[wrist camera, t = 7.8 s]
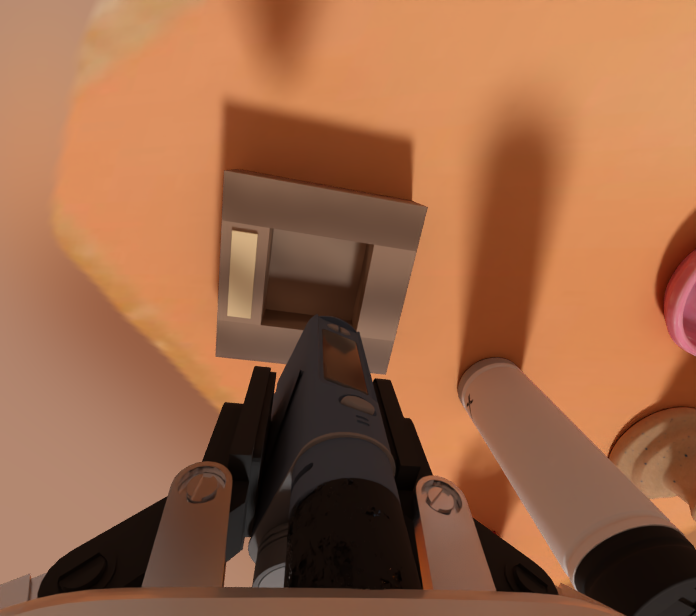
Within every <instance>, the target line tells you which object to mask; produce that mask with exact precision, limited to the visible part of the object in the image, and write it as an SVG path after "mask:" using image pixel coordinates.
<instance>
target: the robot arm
mask: <svg viewBox="0 0 696 616" xmlns="http://www.w3.org/2000/svg"><path fill="white" fill-rule="evenodd" d="M270 371H271V368H269V367H260V366H255V367H254V370H253V373H252V377H251V380H250V384H249V387H248V391H247V394H246V397H245V401H244V404H239V403H227V402H225V403H224V405H223V407H222V410H221V412H220V415H219V418H218V420H217V423H216V426H215V428H214V431H213V434H212V437H211V439H210V442H209V444H208V447H207V450H206V452H205V455H204V458H203V461H202V462H198V463H195V464H192V465H190V466H188V467H186V468H184V469H183V470H181V471H180V472H179V473H178V474H177V475H176V477H175V478H174V480H173V482H172V484H171V487H170V490H169V494H168V496H167V497H165V498H163V499H162V500H160V501H158V502H156V503H155V504H153V505H151V506H149V507H148V508H146V509H144V510H142V511H141V512H139V513H137V514H135V515H134V516H132V517H130V518H128V519H127V520H125V521H123V522H121V523H120V524H118V525H116V526H114V527H112V528H111V529H109V530H107V531H105V532H104V533H102V534H100V535H98V536H97V537H95V538H93V539H91V540H90V541H88V542H86V543H84V544H82V545H81V546H79V547H77V548H76V549H74V550H72V551H71V552H69V553H68V554H66V555H65V556H63V557H62V558H60V559H59V560H58V561H57V562H56V563H55V564H54V565H53V566H52V567H51V568H50V569H49V570H48V572H47V573H45V574H42V575H40V576H37V577H35V578H32V579H31V575H30V574H28V575H25V576H22V577H20V578H17V579H15V580H12V581H9V582H7V583H4V584H1V585H0V616H626V615H624V614H622V613H620V612H618V611H616V610H614V609H612V608H610V607H608V606H606V605H604V604H602V603H600V602H598V601H596V600H594V599H592V598H590V597H588V596H586V595H584V594H582V593H580V592H578V591H576V590H574V589H572V588H570V587H568V586H566V585H564V584H562V583H560V585H559V587H557V586H555V585H554V583H553V581H552V580H551V578H550V577H549V576H548V575H547V573H546V572H545V571H544V570H543V569H542V568H541V567H539V566H538V565H537V564H536V563H535V562H533V561H532V560H531V559H529V558H528V557H526V556H525V555H524V554H522V553H521V552H520V551H518V550H517V549H515V548H514V547H513V546H511V545H510V544H508V543H507V542H506V541H504V540H503V539H502V538H500V537H499V536H497V535H496V534H495V533H493V532H492V531H490V530H489V529H488V528H486V527H485V526H483V525H482V524H481V523H479V522H478V521H477V520H475V519H474V518H472V515H471V512H470V509H469V506H468V503H467V500H466V498H465V496H464V494H463V492H462V491H461V490H460V489H459V488H458V487H457V486H456V485H455V484H454V483H452V482H451V481H449V480H447V479H445V478H443V477H439V476H433V474H432V472H431V469H430V467H429V464H428V461H427V459H426V456H425V453H424V451H423V448H422V445H421V443H420V440H419V437H418V435H417V432H416V429H415V427H414V424H413V422H412V420H411V419H410V418H404V417H403V414H402V411H401V408H400V406H399V403H398V400H397V397H396V394H395V391H394V388H393V386H392V383H391V381H390V380H386V379H376V378H375V379H374V381H373V386H374V390H375V394H376V398H377V401H378V405H379V409H380V413H381V417H382V421H383V424H384V428H385V432H386V436H387V440H388V444H389V447H390V451H391V455H392V457H393V459H394V462H395V476H394V479H395V483H396V487H397V491H398V495H399V499H400V503H401V509H402V511H403V513H402V514H403V518H404V519H405V525H406V526H405V527H407V531H408V535H409V539H410V543H411V547H412V552H413V555H414V557H413V559H415V563H416V567H417V571H418V575H419V579H420V583H421V587H422V590H416V589H386V590H385V589H384V590H370V589H366V590H362V589H351V588H350V589H348V588H264V587H249V588H248V587H224V580H225V570H226V562H227V561H229V560H230V559H231V558H232V557H234V556H235V555H236V554H237V553H239V552H240V550H242V549H243V544H244V538H245V537H251V535H252V532H253V526H254V520H255V514H256V508H257V502H258V496H259V490H260V485H261V482H260V481H261V475H262V469H263V463H264V457H265V451H266V445H267V440H268V434H269V428H270V422H271V413H272V405H273V397H274V388H275V380H276V372H270ZM396 565H397V564H396ZM393 577H394V576H393ZM400 577H401V576H400ZM396 580H397V579H396ZM401 580H402V578H401Z"/></svg>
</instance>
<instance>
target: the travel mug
mask: <svg viewBox="0 0 696 616" xmlns="http://www.w3.org/2000/svg"><path fill="white" fill-rule="evenodd" d="M458 396H459V399H460V401H461V403H462V405H463V406H464V408H465V409H466V411H467V413H468V414H469V416H470V418H471V419H472V421H473V423H474V424H475V426H476V427H477V429H478V431H479V432H480V434H481V436H482V437H483V439H484V441H485V442H486V444H487V445H488V447H489V449H490V450H491V452H492V454H493V455H494V457H495V459H496V460H497V462H498V463H499V465H500V467H501V468H502V470H503V472H504V473H505V475H506V477H507V478H508V480H509V481H510V483H511V485H512V486H513V488H514V490H515V491H516V493H517V495H518V496H519V498H520V500H521V501H522V503H523V504H524V506H525V508H526V509H527V511H528V513H529V514H530V516H531V518H532V519H533V521H534V522H535V524H536V526H537V527H538V529H539V531H540V532H541V534H542V536H543V537H544V539H545V540H546V542H547V544H548V545H549V547H550V549H551V550H552V552H553V554H554V555H555V557H556V558H557V560H558V562H559V563H560V565H561V567H562V568H563V570H564V572H565V573H566V574H567V575H568V577H569V578H570V581H571V583H572V585H573V586H574V588H575V589H576V591H578V592H580V593H582V594H584V595H586V596H588V597H590V598H592V599H594V600H596V601H598V602H600V603H602V604H604V605H606V606H608V607H610V608H612V609H614V610H616V611H618V612H620V613H622V614H624V615H626V616H696V550H695V548H694V546H693V545H692V544H691V543H690V542H689V541H688V540H687V539H686V538H685V536H684V534H683V533H682V532H681V531H680V530H679V529H678V528H677V527H676V526H675V525H674V524H672V523H671V522H670V521H669V519H668V518H667V517H666V516H665V515H664V514H663V513H662V512H661V511H660V510H659V509H658V508H657V507H656V506H655V505H654V504H653V503H652V502H651V501H650V500H649V499H648V498H647V497H646V496H645V495H644V494H643V493H642V492H641V491H640V490H639V489H638V488H637V487H636V486H635V485H634V484H633V483H632V482H631V481H630V480H629V479H628V478H627V477H626V476H625V475H624V474H623V473H622V472H621V471H620V470H619V469H618V468H617V467H616V466H615V465H614V464H613V463H612V462H611V461H610V460H609V459H608V457H607V456H606V455H605V454H604V453H603V452H602V451H601V450H600V449H599V448H598V447H597V446H596V445H595V444H594V443H593V442H592V441H591V440H590V439H589V438H588V437H587V436H586V435H585V434H584V433H583V432H582V431H581V430H580V429H579V428H578V427H577V426H576V425H575V424H574V423H573V422H572V421H571V420H570V419H569V418H568V417H567V416H566V415H565V414H564V413H563V412H562V411H561V410H560V409H559V408H558V407H557V406H556V405H555V404H554V403H553V402H552V401H551V400H550V399H549V398H548V397H547V396H546V395H545V394H544V393H543V392H542V391H541V390H540V389H539V388H538V387H537V386H536V385H535V384H534V383H533V382H532V381H531V380H530V379H529V378H528V377H527V376H526V375H525V374H524V373H523V372H522V371H521V370H520V369H519V368H518V367H517V366H516V365H515V364H514V363H513V362H511V361H509V360H507V359H504V358H488V359H484V360H481V361H479V362H477V363H475V364H474V365H472V366H471V367H470V368H469V369H468V370H467V371H466V372H465V373H464V374H463V376H462V378H461V380H460V382H459V385H458Z"/></svg>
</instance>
